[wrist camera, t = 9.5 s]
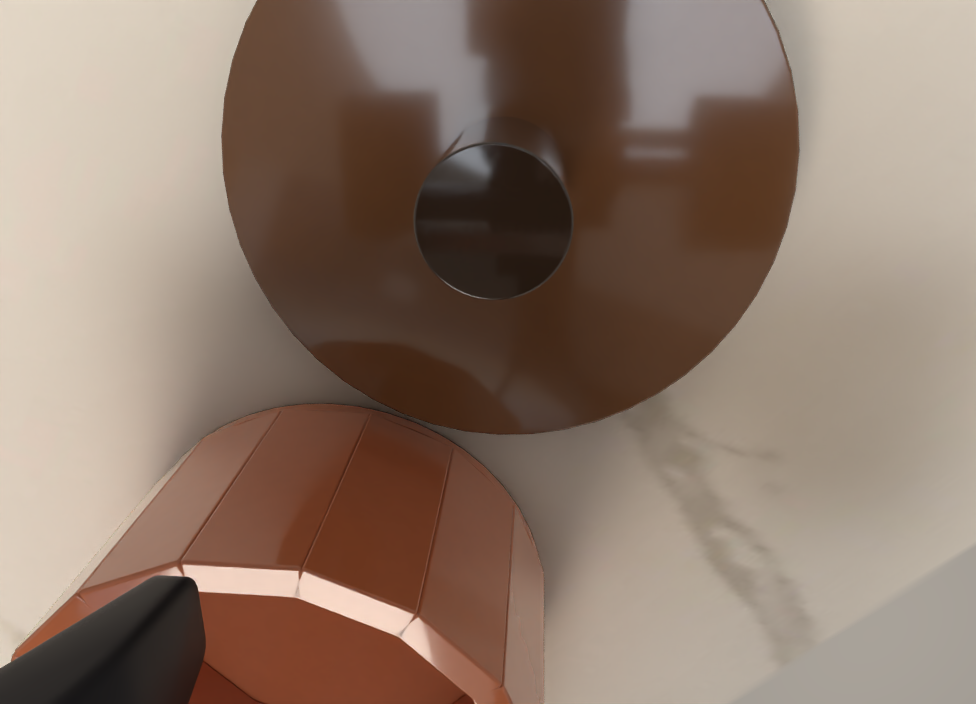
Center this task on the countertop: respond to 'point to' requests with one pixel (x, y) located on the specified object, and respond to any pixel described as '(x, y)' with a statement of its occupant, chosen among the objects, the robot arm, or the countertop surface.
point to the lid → (510, 193)
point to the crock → (335, 565)
